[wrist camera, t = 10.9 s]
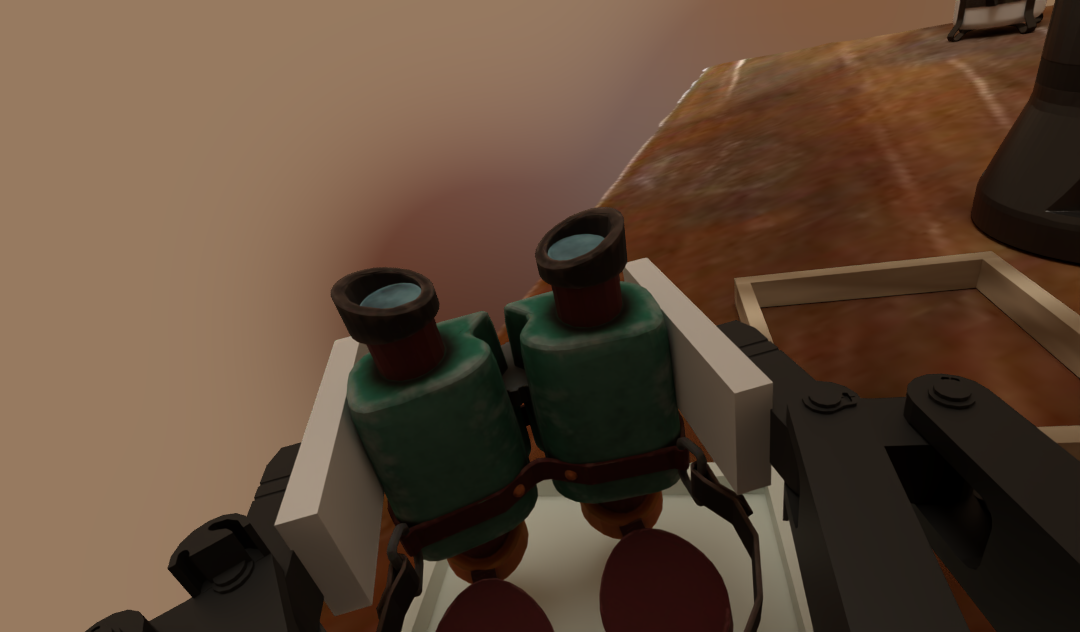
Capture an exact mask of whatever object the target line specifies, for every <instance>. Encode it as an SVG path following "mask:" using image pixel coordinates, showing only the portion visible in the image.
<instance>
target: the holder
mask: <svg viewBox="0 0 1080 632" xmlns="http://www.w3.org/2000/svg"><path fill="white" fill-rule="evenodd" d="M734 283H735V305H736V308H737V311H738V314H739V318H740V321H741V322H742V323H745V324H747V325H750V326H752V327H755V328H756V329H757V330H758V331H760V332H761V333H762V334H763V335H764V336H765V337H766V338H768V341H771V342H772V343H773V341H772V338H771V335H770V333H769V330H768V328H767V325H766V322H765V320H764V317H763V314H762V312H761V309H760V308H761V307H771V306H782V305H793V304H804V303H815V302H826V301H837V300H848V299H859V298H870V297H881V296H892V295H903V294H913V293H924V292H935V291H946V290H957V289H968V288H977V289H978V290H979V291H980V292H981V293H983V294H984V295H985V296H986V297H987V298H988V299H989V300H991V301H992V302H993V303H994V304H995V305H996V306H997V307H999V308H1000V309H1001V310H1002V311H1003V312H1004V313H1006V314H1007V315H1008V316H1009V317H1010V318H1011V319H1012V320H1014V321H1015V322H1016V323H1017V324H1018V325H1019V326H1020V327H1022V328H1023V329H1024V330H1025V331H1026V332H1027V333H1028V334H1030V335H1031V336H1032V337H1033V338H1034V339H1035V340H1036V341H1038V342H1039V343H1040V344H1041V345H1042V346H1043V347H1044V348H1046V349H1047V350H1048V351H1049V352H1050V353H1051V354H1052V355H1054V356H1055V357H1056V358H1057V359H1058V360H1059V361H1060V362H1062V363H1063V364H1064V365H1065V366H1066V367H1067V368H1068V369H1070V370H1071V371H1072V372H1073V373H1074V374H1075V375H1076V376H1078V377H1079V378H1080V316H1079V315H1078V314H1077V313H1075V312H1074V311H1073V310H1071V309H1070V308H1068V307H1067V306H1066V305H1064V304H1063V303H1062V302H1060V301H1059V300H1057V299H1056V298H1055V297H1053V296H1052V295H1051V294H1049V293H1048V292H1047V291H1045V290H1044V289H1042V288H1041V287H1040V286H1038V285H1037V284H1036V283H1034V282H1033V281H1032V280H1030V279H1029V278H1027V277H1026V276H1025V275H1023V274H1022V273H1021V272H1019V271H1018V270H1016V269H1015V268H1014V267H1012V266H1011V265H1010V264H1008V263H1007V262H1006V261H1004V260H1003V259H1001V258H1000V257H999V256H997V255H996V254H995V253H993V252H992V251H989V252H979V253H970V254H960V255H951V256H941V257H932V258H922V259H913V260H903V261H894V262H884V263H875V264H865V265H856V266H846V267H837V268H827V269H818V270H808V271H799V272H789V273H780V274H770V275H761V276H751V277H742V278H734ZM773 344H774V343H773ZM1037 428H1038V429H1040V430H1041V431H1042V432H1043V433H1045V434H1046V435H1047V436H1048V437H1050V438H1051V439H1052V440H1053V441H1055V442H1056V443H1057V444H1059V445H1060V446H1061V447H1062V448H1064V449H1065V450H1066V451H1067V452H1069V453H1070V454H1071V455H1073V456H1074V457H1075V458H1076V459H1078V460H1079V461H1080V426H1054V427H1037Z"/></svg>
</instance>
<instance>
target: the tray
mask: <svg viewBox="0 0 1080 632" xmlns="http://www.w3.org/2000/svg"><path fill="white" fill-rule="evenodd" d="M690 464H691V463H690ZM707 464H708V465H709V466H710V468H711V470H712V471H713V473H714V474H715V476H716V478H717V479H718V481H719V482H720V484H722V485H724V486H725V487H727V488H729V489H731V490H732V491H734V490H733V488H732V487H731V485H730V484H729V482H728V481H727V479H726V478H725V476H724V475H723V473H722V472H721V470H720V469H719V467H718V466H717V465H716V463H715V462H714V463H707ZM687 473H688V476H689V479H690V481H691V468H690V466H689V469H687ZM536 485H537V489H538V498H537V501H536V504H535V507H534V508H533V510H532V511H531V513H530V514H529V516H528V517H527V518H526V519H525V523H526V525H527V529H528V534H529V536H528V545H527V548H526V551H525V553H524V556H523V558H522V561H521V562H520V564H519V565H518V567H517V568H516V569H515V571H514V572H513V573H512V574H511V575H510V576H508V577H507V578H506V579H504V581H508V582H511V583H512V584H514V585H516V586H518V587H520V588H521V589H523V590H524V591H525V592H526V593H528V594H529V595H530V596H531V597H532V598H533V599H534V600H535V601H536V602H537V603H538V605H539V606H540V607H541V608H542V609H543V611H544V612H545V614H546V615H547V617H548V619H549V621H550V623H551V624H552V626H553V629H554V632H605V629H604V627H603V624H602V619H601V614H600V603H599V592H600V585H601V578H602V574H603V571H604V568H605V565H606V562H607V560H608V558H609V556H610V554H611V552H612V550H613V548H614V547H615V546H616V545H617V543H618V542H619V541H620V539H614V538H611V537H608V536H606V535H603V534H602V533H600V532H599V531H598V530H596V529H595V528H593V527H592V526H591V525H590V524H589V523H588V521H587V520H586V519H585V518H584V516H583V513H582V511H581V505H580V502H575V501H573V500H570V499H568V498H566V497H564V496H563V495H561V494H560V493H559V492H558V491H557V490H556V488H555V487H554V485H553V482H552V479H550V480H543V481H541V482H539V483H538V484H536ZM734 492H735V491H734ZM662 496H663V509H662V512H661V514H660V516H659V518H658V521H657V523H656V524H655V525H654V526H653V528H654V529H662V530H665V531H668V532H671V533H673V534H676V535H678V536H680V537H681V538H683V539H685V540H687V541H689V542H690V543H691V544H693V545H694V546H695V547H697V548H698V549H699V550H700V551H702V552H703V553H704V554H705V555H706V556H707V557H708V559H709V560H710V561H711V562H712V563H713V564H714V565H715V567H716V568H717V570H718V572H719V573H720V575H721V576H722V578H723V581H724V583H725V586H726V588H727V591H728V595H729V601H730V606H731V612H732V618H733V624H734V627H733V632H744V629H745V627H746V624H747V621H748V619H749V616H750V613H751V611H752V608H753V605H754V593H753V576H752V560H751V558H750V556H749V554H748V552H747V550H746V549H745V547H744V545H743V543H742V541H741V539H740V538H739V536H738V534H737V532H736V530H735V528H734V527H733V525H732V524H731V523H729V522H728V521H726V520H725V519H723V518H722V517H720V516H719V515H717V514H716V513H714V512H713V511H711V510H710V509H708V508H707V507H705V506H702V507H700V506H698V505H697V504H696V503H695V502H694V500H693V498H692V497H691V495H690V494H689V492H688V491H687V489H686V487H685V486H684V484H683V483H682V481H681V478H680V479H679V480H678V482H677V483H676V484H674V485H673V486H672V487H670V488H668V489H665V490H662ZM743 496H744V497H745V499H746V501H747V502H748V504H749V506H750V507H751V509H752V511H753V514H752V515H750V516H749V519H750V521H751V523H752V524H753V526H754V528H755V529H756V531H757V533H758V535H759V545H760V559H761V572H762V586H763V604H762V613H761V621H760V624H759V627H758V629H757V632H814V631H813V627H812V622H811V618H810V613H809V609H808V604H807V600H806V595H805V591H804V586H803V582H802V577H801V573H800V568H799V563H798V559H797V554H796V550H795V545H794V541H793V536H792V532H791V527H790V523H789V521H783V498H784V480H783V479H782V477H781V476H780V475H779V474H778V472H777V471H776V470H775V469H774V467H773V466H772V465H771V485H770V486H766V487H763V488H760V489H756V490H753V491H750V492H746V493H743ZM423 561H424V568H423V587H422V593H421V595H420V596H418V597H414V599H413V601H412V603H411V605H410V607H409V609H408V611H407V613H406V615H405V618H404V622H403V627H402V631H401V632H436V629H437V626H438V624H439V622H440V620H441V619H442V617H443V615H444V613H445V612H446V610H447V608H448V607H449V605H450V604H451V603H452V602H453V601H454V599H455V598H456V597H457V596H458V594H460V593H461V592H462V591H463V590H464V589H466V588H467V587H468V586H469V585H471V584H470V583H468V582H466V581H464V580H462V579H461V578H459V577H457V576H456V575H455V573H454V572H453V570H452V569H451V568H450V566H449V563H448V561H447V559H445V560H441V561H426V560H423Z"/></svg>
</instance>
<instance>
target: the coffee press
mask: <svg viewBox="0 0 1080 632" xmlns="http://www.w3.org/2000/svg"><path fill="white" fill-rule="evenodd" d="M1046 1H1047V0H956V3H955V10H954V16H953V25H954V27H953V29H952V30H951V32H950V33H949V34H948V37H947V39H948V41H959V40H960V39H961V38H962V37H963V36H964V34H966V33H967V32H968V31H972V30H976V29H985V28H993V27H1001V26H1016V27H1017V28H1018V30H1019V32H1020V33H1021V34H1024V33H1029V32H1033V31H1034V30H1035V28H1036V23H1039V22H1040V21H1041V20H1042V19H1043V13H1042V12H1043V11H1044V9H1045V5H1046ZM1025 21H1026V24H1027V26H1026V25H1025V24H1024V23H1022V22H1025ZM958 30H959V32H960V33H959V34H958V35H957V36H956V37H955V38H954V35H955V33H956V32H957V31H958Z"/></svg>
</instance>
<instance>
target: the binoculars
mask: <svg viewBox="0 0 1080 632" xmlns="http://www.w3.org/2000/svg"><path fill="white" fill-rule="evenodd" d="M535 257H536V262H537V266H538V271H539V275H540V277H541V278H542V279H543V280H544V281H545V282H546V283H548V284H550V285H552V290H553V291H551V292H547V293H543V294H540V295H536V296H533V297H530V298H526V299H523V300H520V301H516V302H512V303H509V304H507V305H506V306H505V307H504V314H505V323H506V328H507V333H508V338H509V342H507V343H505V344H504V345H500V342H499V339H498V336H497V334H496V331H495V328H494V325H493V323H492V321H491V319H490V317H489V315H488V313H487V312H484V311H480V312H477V313H473V314H469V315H466V316H462V317H459V318H454V319H451V320H447V321H443V322H439V323H437V324H436V322H435V319H434V317H435V316H436V314H437V312H438V310H439V301H438V298H437V295H436V292H435V289H434V286H433V283H432V282H431V281H430V280H429V279H428V278H426V277H425V276H423V275H422V274H419V273H416V272H414V271H411V270H407V269H400V268H387V267H383V268H371V269H365V270H361V271H357V272H354V273H351V274H349V275H347V276H345V277H343V278H342V279H340V280H339V281H337V283H335V285H334V286H333V288H332V290H331V297H332V300H333V302H334V304H335V306H336V308H337V310H338V312H339V314H340V316H341V318H342V319H343V322H344V323H345V326H346V327H347V330H348V332H349V334H350V335H351V337H352V339H354V340H355V341H357V342H359V343H362V344H366V346H367V348H368V350H369V353H367V354H366V355H364V356H363V357H362V358H361V359H360V360H359V361H358V362H357V363H356V364H355V365H354V367H353V368H352V370H351V371H350V373H349V376H348V382H347V400H348V405H349V408H350V412H351V416H352V420H353V423H354V425H355V427H356V429H357V432H358V434H359V436H360V438H361V441H362V443H363V445H364V447H365V450H366V452H367V454H368V456H369V458H370V461H371V463H372V465H373V467H374V470H375V472H376V474H377V476H378V478H379V480H380V483H381V485H382V487H383V489H384V492H385V494H386V496H387V498H388V508H387V509H388V511H389V514H390V516H391V518H392V520H393V522H394V524H395V526H396V527H395V528H394V531H393V533H392V536H391V538H390V541H389V544H388V547H387V555H388V559H389V560H390V564H389V570H388V577H387V585H386V588H385V590H384V592H383V594H382V597H381V600H380V602H379V604H378V606H377V608H376V609H377V613H378V618H379V624H378V627H377V631H376V632H401V631H402V627H403V622H404V618H405V615H406V613H407V611H408V609H409V607H410V605H411V603H412V601H413V599H414V597H418V596H420V595H421V593H422V587H423V568H424V561H423V560H426V561H441V560H445V559H447V561H448V563H449V566H450V568H451V569H452V570H453V572H454V573H455V575H456V576H457V577H459V578H461V579H462V580H464V581H466V582H468V583H470V584H471V585H469V586H468V587H467V588H466V589H464V590H463V591H462V592H461V593H460V594H458V596H457V597H456V598H455V599H454V601H453V602H452V603H451V604H450V605H449V607H448V608H447V610H446V612H445V613H444V615H443V617H442V619H441V620H440V622H439V624H438V626H437V629H436V632H554V629H553V626H552V624H551V623H550V621H549V619H548V617H547V615H546V614H545V612H544V611H543V609H542V608H541V607H540V606H539V605H538V603H537V602H536V601H535V600H534V599H533V598H532V597H531V596H530V595H529V594H528V593H526V592H525V591H524V590H523V589H521V588H520V587H518V586H516V585H514V584H512V583H511V582H508V581H504V579H506V578H507V577H508V576H510V575H511V574H512V573H513V572H514V571H515V569H516V568H517V567H518V565H519V564H520V562H521V561H522V558H523V556H524V553H525V551H526V548H527V545H528V536H529V534H528V529H527V525H526V523H525V519H526V518H527V517H528V516H529V514H530V513H531V511H532V510H533V508H534V507H535V504H536V501H537V498H538V489H537V485H536V484H538V483H539V482H541V481H543V480H550V479H552V482H553V485H554V487H555V488H556V490H557V491H558V492H559V493H560V494H561V495H563V496H564V497H566V498H568V499H570V500H573V501H575V502H580V505H581V511H582V513H583V516H584V518H585V519H586V520H587V521H588V523H589V524H590V525H591V526H592V527H593V528H595V529H596V530H598V531H599V532H600V533H602V534H603V535H606V536H608V537H611V538H614V539H620V541H619V542H618V543H617V545H616V546H615V547H614V548H613V550H612V552H611V554H610V556H609V558H608V560H607V562H606V565H605V568H604V571H603V574H602V578H601V585H600V592H599V603H600V614H601V619H602V624H603V627H604V629H605V632H733V627H734V624H733V618H732V612H731V606H730V601H729V595H728V591H727V588H726V586H725V583H724V581H723V578H722V576H721V575H720V573H719V572H718V570H717V568H716V567H715V565H714V564H713V563H712V562H711V561H710V560H709V559H708V557H707V556H706V555H705V554H704V553H703V552H702V551H700V550H699V549H698V548H697V547H695V546H694V545H693V544H691V543H690V542H689V541H687V540H685V539H683V538H681V537H680V536H678V535H676V534H673V533H671V532H668V531H665V530H662V529H654V528H653V526H654V525H655V524H656V523H657V521H658V518H659V516H660V514H661V512H662V509H663V496H662V490H665V489H668V488H670V487H672V486H673V485H674V484H676V483H677V482H678V480H679V479H680V478H681V481H682V483H683V484H684V486H685V487H686V489H687V491H688V492H689V494H690V495H691V497H692V498H693V500H694V502H695V503H696V504H697V505H698V506H700V507H702V506H705V507H707V508H708V509H710V510H711V511H713V512H714V513H716V514H717V515H719V516H720V517H722V518H723V519H725V520H726V521H728V522H729V523H731V524H732V525H733V527H734V528H735V530H736V532H737V534H738V536H739V538H740V539H741V541H742V543H743V545H744V547H745V549H746V550H747V552H748V554H749V556H750V558H751V560H752V576H753V593H754V605H753V608H752V611H751V613H750V616H749V619H748V621H747V624H746V627H745V629H744V632H757V629H758V627H759V624H760V621H761V613H762V604H763V586H762V572H761V559H760V545H759V535H758V533H757V531H756V529H755V528H754V526H753V524H752V523H751V521H750V519H749V516H750V515H752V514H753V511H752V509H751V507H750V506H749V504H748V502H747V501H746V499H745V497H744V496H743V494H740V495H737V494H736V493H735V492H734V491H732V490H731V489H729V488H727V487H725V486H724V485H722V484H720V482H719V481H718V479H717V478H716V476H715V474H714V473H713V471H712V470H711V468H710V466H709V465H708V464H707V460H706V457H705V455H704V453H703V451H702V450H701V448H699V447H698V446H697V445H696V444H694V443H693V442H692V441H691V440H689V439H688V438H686V437H685V429H684V421H683V417H682V416H681V415H680V413H679V411H678V407H677V402H676V394H675V386H674V378H673V370H672V362H671V354H670V347H669V339H668V332H667V327H666V324H665V321H664V317H663V314H662V311H661V309H660V306H659V304H658V303H657V302H656V300H655V299H654V297H653V296H652V294H651V293H650V292H649V291H648V290H647V289H646V288H644V287H642V286H640V285H638V284H634V283H630V282H621V281H620V278H619V274H620V273H621V272H622V271H623V269H624V268H625V266H626V264H627V251H626V240H625V229H624V218H623V216H622V214H621V212H619V211H618V210H616V209H613V208H609V207H599V208H591V209H588V210H585V211H582V212H579V213H577V214H574V215H572V216H570V217H568V218H566V219H565V220H563V221H562V222H560V223H559V224H557V225H556V226H555V227H553V228H552V229H551V230H550V231H548V232H547V234H545V236H544V237H543V238H542V240H541V241H540V243H539V244H538V247H537V249H536V253H535ZM522 403H524V405H522ZM520 405H522V406H520ZM528 425H530V426H531V430H532V433H533V437H534V440H535V443H536V445H537V447H538V448H539V449H540V450H542V451H543V452H544V453H545V456H546V458H537V459H536V460H534V461H532V462H530V461H529V457H528V456H529V454H530V452H531V443H530V439H529V435H528V431H527V428H526V426H528ZM689 451H690V452H691V453H692V454H694V455H695V456H696V458H697V461H695V462H693V463H691V464H690V461H689ZM689 466H690V468H691V481H690V479H689V476H688V473H687V469H689ZM399 540H400V542H401V544H402V545H403V547H404V549H405V550H406V552H407V554H408V555H409V556H413V557H414V562H415V570H414V568H413V566H412V565H411V563H410V561H409V560H408V558H407V557H406V556H405V554H400V553H399V554H398V553H397V546H398V543H399Z"/></svg>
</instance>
